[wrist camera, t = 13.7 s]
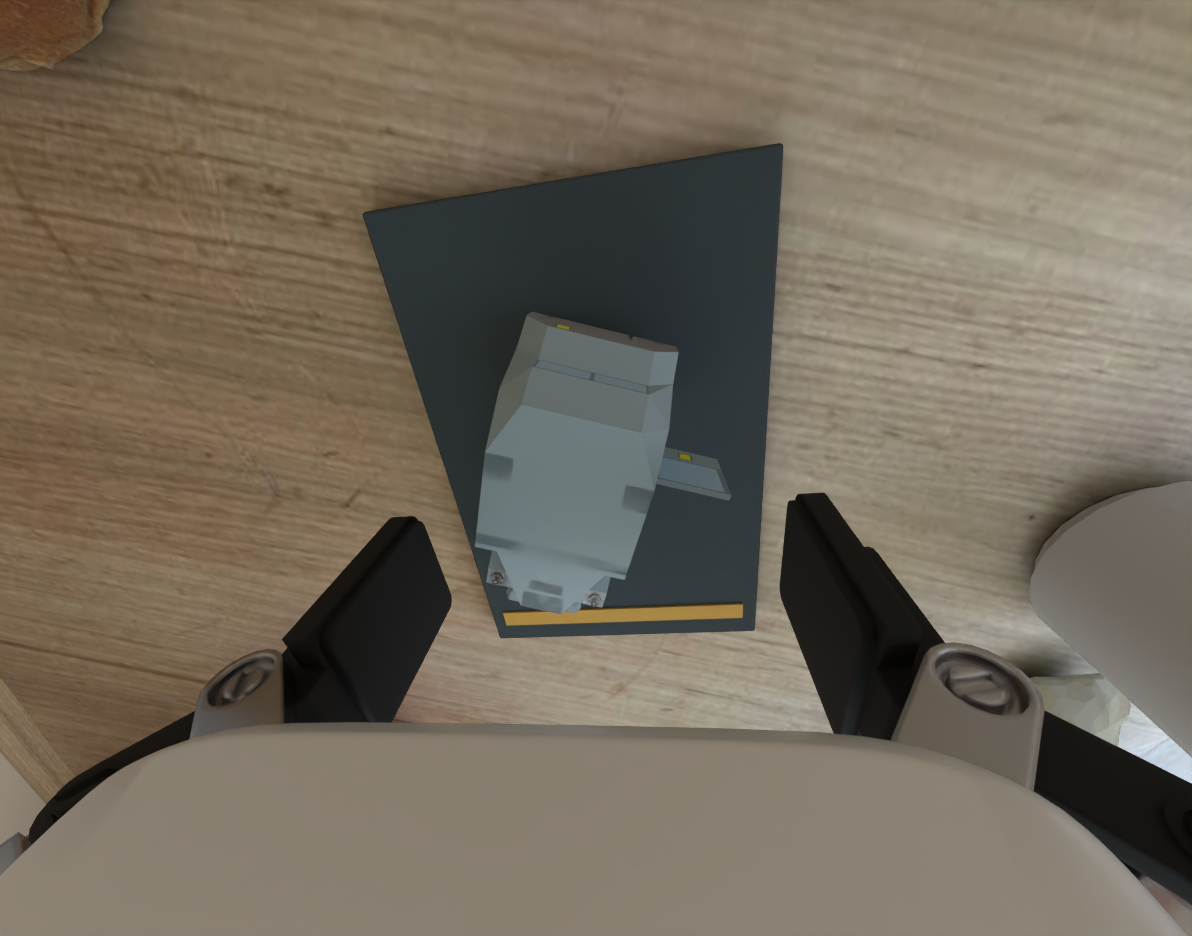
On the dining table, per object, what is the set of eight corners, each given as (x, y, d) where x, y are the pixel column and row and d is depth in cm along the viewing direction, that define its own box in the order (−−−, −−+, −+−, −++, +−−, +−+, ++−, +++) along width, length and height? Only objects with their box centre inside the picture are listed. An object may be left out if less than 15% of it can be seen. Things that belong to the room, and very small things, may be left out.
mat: (775, 148, 12) (786, 140, 11) (751, 617, 20) (755, 633, 19) (374, 213, 13) (358, 212, 12) (504, 626, 21) (499, 640, 21)
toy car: (504, 549, 18) (464, 644, 14) (541, 305, 13) (497, 334, 9) (650, 582, 18) (656, 686, 14) (737, 353, 14) (785, 404, 9)
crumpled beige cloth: (1017, 851, 26) (1221, 689, 19) (1060, 928, 23) (1321, 768, 16) (806, 784, 27) (926, 611, 20) (820, 848, 24) (966, 671, 17)
